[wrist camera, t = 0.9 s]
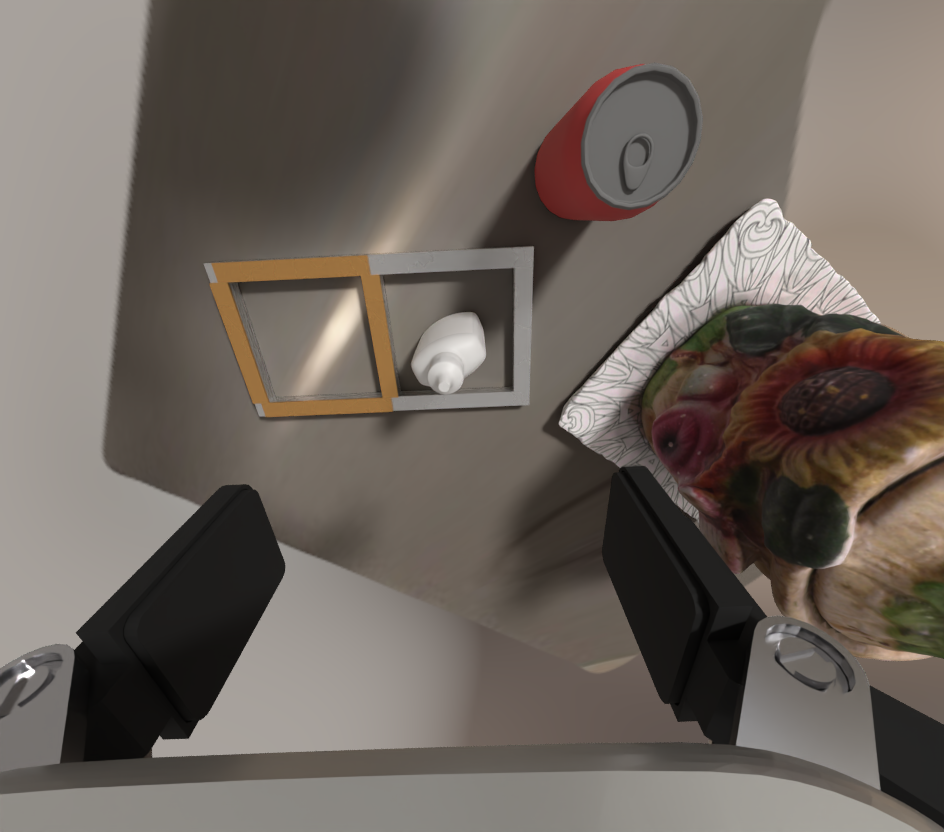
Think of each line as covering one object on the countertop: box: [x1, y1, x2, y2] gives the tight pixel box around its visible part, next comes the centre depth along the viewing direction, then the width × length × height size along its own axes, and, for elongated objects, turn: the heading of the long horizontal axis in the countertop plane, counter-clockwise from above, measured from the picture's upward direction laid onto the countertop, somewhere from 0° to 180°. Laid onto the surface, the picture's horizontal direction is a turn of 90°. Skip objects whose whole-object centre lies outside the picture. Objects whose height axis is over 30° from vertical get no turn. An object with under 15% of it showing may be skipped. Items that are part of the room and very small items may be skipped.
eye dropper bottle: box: [411, 312, 486, 395], centre depth 28 cm, size 4×6×12 cm
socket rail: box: [204, 246, 534, 417], centre depth 33 cm, size 14×26×1 cm, turn 93°
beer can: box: [535, 63, 703, 221], centre depth 22 cm, size 7×7×12 cm
